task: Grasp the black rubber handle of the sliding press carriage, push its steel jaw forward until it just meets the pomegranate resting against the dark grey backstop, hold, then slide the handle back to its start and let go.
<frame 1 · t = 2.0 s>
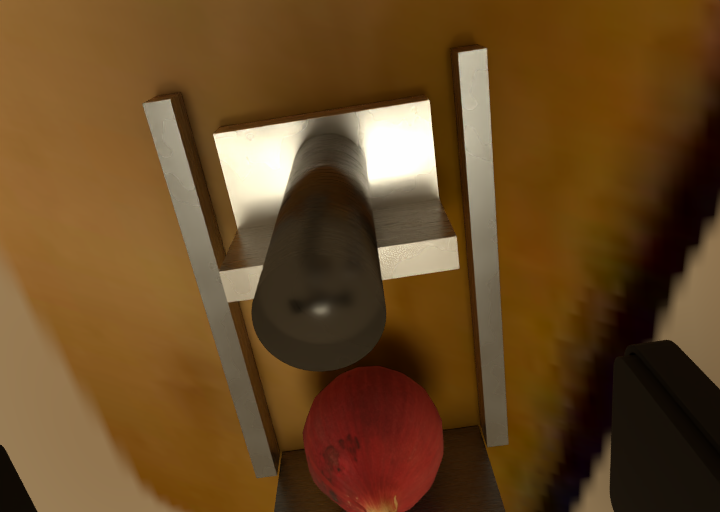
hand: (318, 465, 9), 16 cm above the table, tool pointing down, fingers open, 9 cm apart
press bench: (350, 272, 25), on the table
carriage: (329, 229, 18), point 6 cm above the table, slide at 0.0 cm
pomegranate: (369, 380, 28), resting in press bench
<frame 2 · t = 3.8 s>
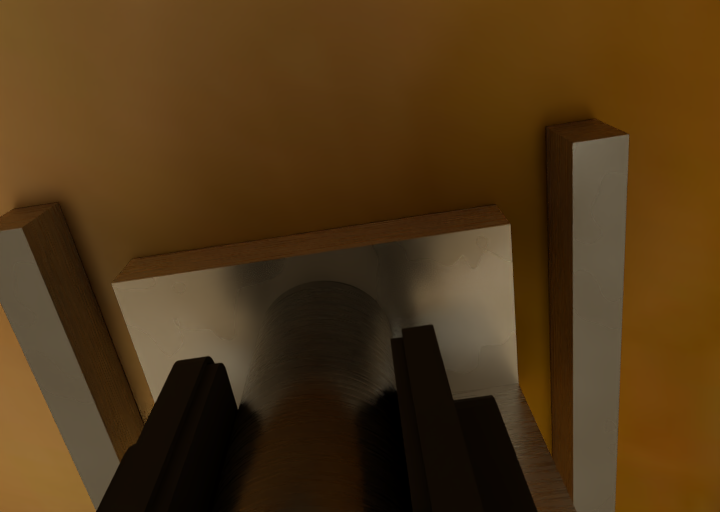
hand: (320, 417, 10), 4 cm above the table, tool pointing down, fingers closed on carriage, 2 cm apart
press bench: (359, 475, 15), on the table
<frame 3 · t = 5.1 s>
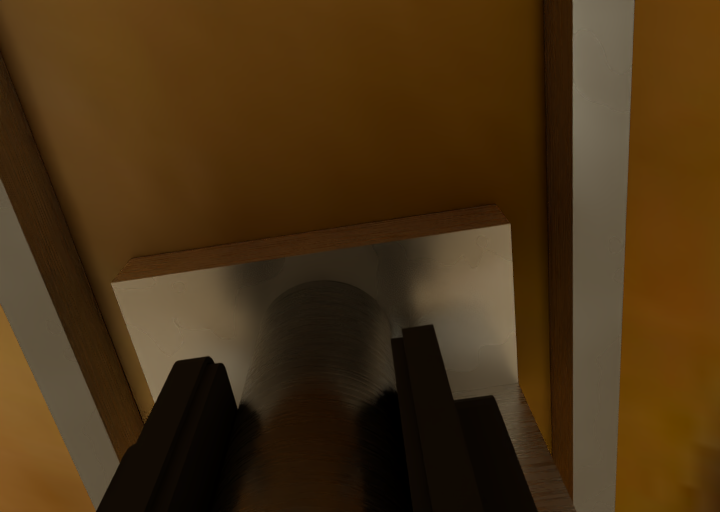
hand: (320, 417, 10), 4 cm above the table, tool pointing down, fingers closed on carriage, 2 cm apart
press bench: (331, 332, 13), on the table
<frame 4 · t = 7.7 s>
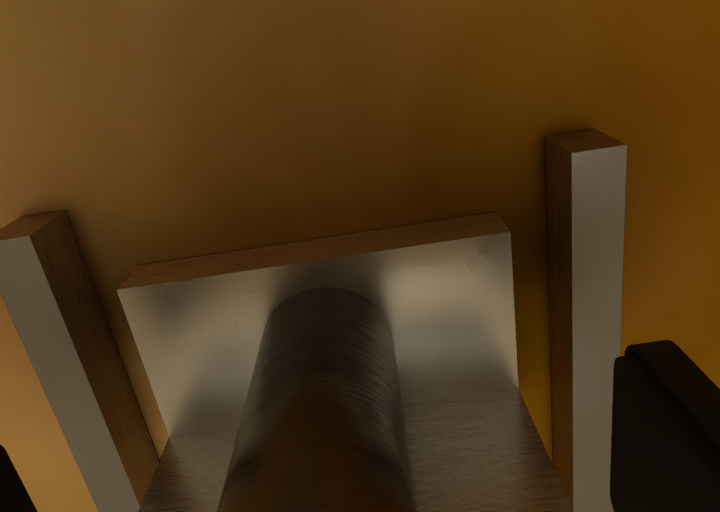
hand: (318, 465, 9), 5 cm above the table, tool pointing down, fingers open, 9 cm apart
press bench: (361, 480, 15), on the table
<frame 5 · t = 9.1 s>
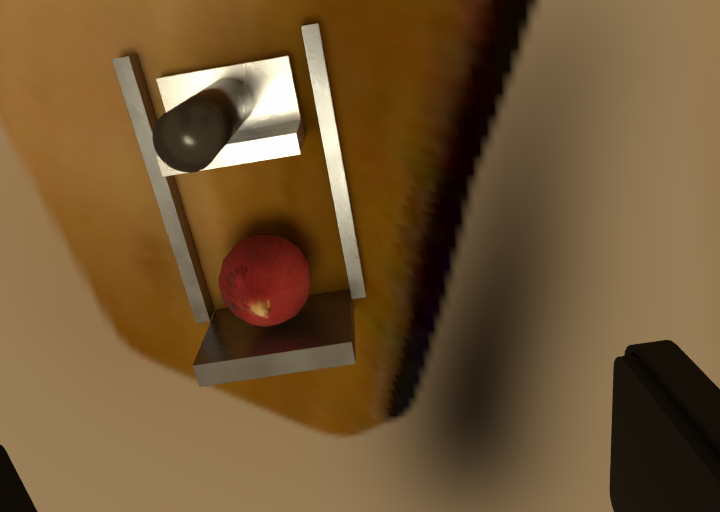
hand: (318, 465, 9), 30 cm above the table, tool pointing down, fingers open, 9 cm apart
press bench: (252, 175, 38), on the table
carriage: (216, 125, 31), point 6 cm above the table, slide at 0.0 cm
pomegranate: (272, 255, 41), resting in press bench
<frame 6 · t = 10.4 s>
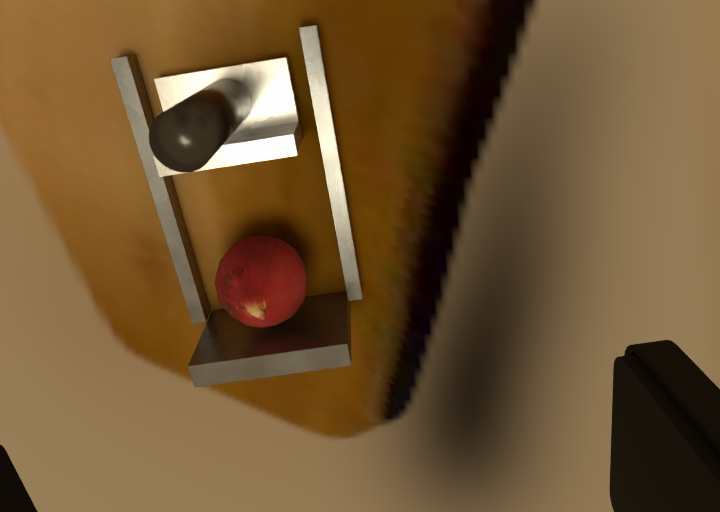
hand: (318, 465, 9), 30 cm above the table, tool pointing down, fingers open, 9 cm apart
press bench: (249, 176, 38), on the table
carriage: (213, 125, 31), point 6 cm above the table, slide at 0.0 cm
pomegranate: (269, 256, 41), resting in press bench
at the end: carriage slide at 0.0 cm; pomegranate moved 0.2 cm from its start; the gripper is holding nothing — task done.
